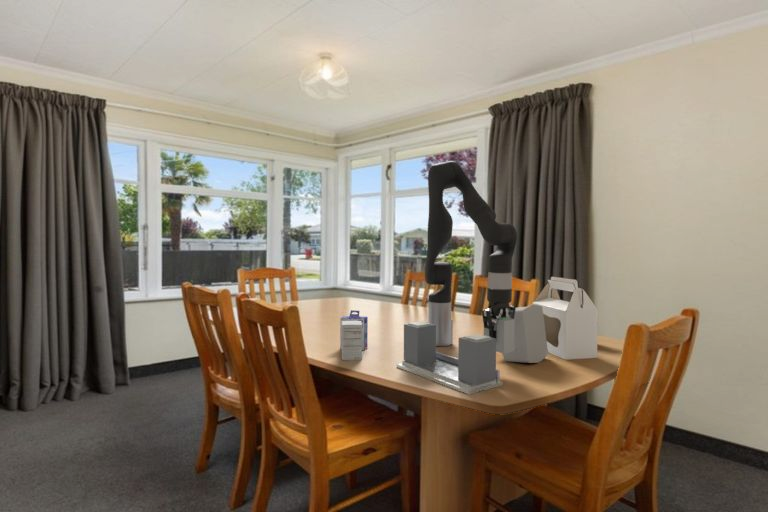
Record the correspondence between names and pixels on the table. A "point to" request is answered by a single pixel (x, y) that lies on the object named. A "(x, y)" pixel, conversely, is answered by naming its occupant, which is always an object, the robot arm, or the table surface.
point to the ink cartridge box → (364, 326)
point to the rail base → (447, 374)
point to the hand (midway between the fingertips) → (498, 340)
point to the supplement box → (351, 340)
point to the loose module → (503, 334)
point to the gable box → (569, 320)
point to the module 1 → (419, 342)
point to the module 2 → (477, 359)
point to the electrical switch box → (528, 336)
